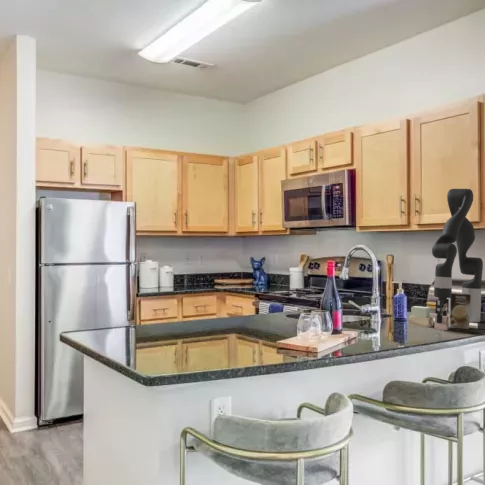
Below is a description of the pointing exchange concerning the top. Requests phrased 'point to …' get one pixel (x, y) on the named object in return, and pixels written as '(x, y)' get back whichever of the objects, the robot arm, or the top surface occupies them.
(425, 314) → the tower mid
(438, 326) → the rose block
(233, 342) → the top surface
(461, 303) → the coffee box
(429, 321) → the tower base
